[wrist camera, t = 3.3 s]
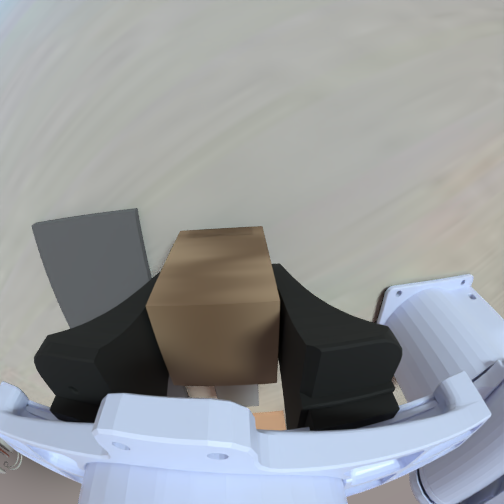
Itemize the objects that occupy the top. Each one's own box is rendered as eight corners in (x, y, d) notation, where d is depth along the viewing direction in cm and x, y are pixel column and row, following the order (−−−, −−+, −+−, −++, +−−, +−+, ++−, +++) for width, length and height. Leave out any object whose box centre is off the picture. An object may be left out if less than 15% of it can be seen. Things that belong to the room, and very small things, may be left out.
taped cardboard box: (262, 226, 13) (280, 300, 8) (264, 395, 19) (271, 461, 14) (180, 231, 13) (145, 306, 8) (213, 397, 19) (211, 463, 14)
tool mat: (137, 208, 14) (134, 211, 13) (191, 403, 21) (190, 407, 21) (35, 222, 13) (31, 225, 13) (114, 396, 21) (113, 400, 21)
